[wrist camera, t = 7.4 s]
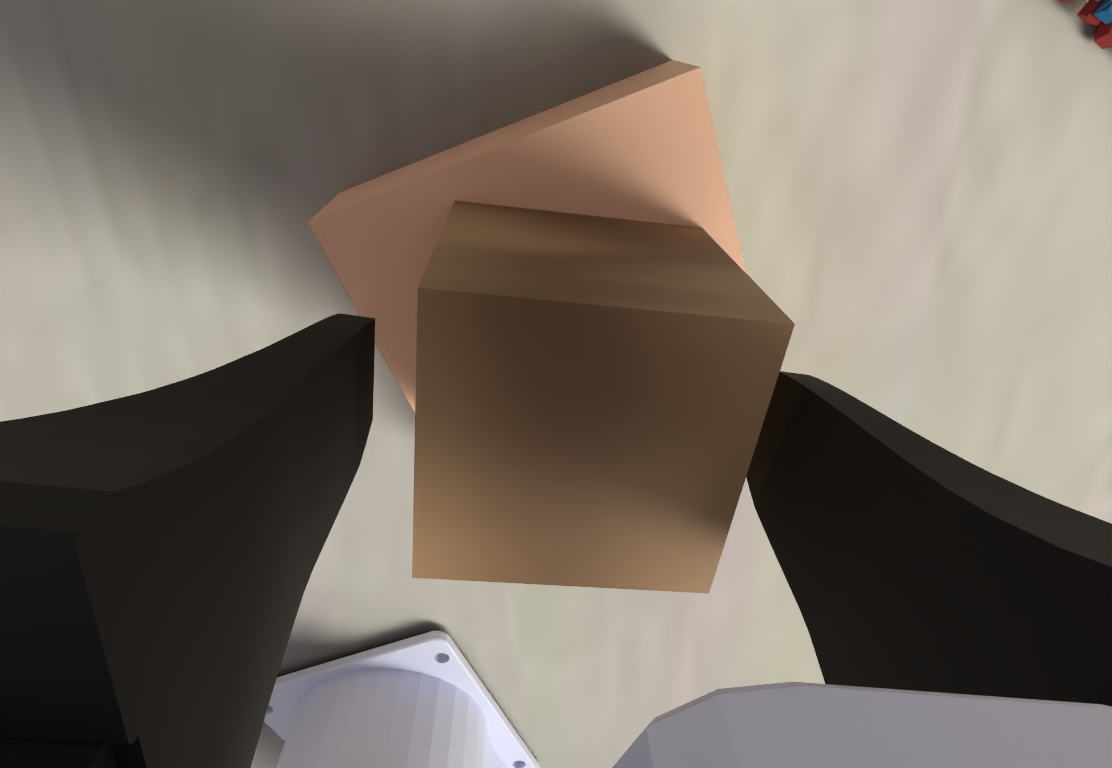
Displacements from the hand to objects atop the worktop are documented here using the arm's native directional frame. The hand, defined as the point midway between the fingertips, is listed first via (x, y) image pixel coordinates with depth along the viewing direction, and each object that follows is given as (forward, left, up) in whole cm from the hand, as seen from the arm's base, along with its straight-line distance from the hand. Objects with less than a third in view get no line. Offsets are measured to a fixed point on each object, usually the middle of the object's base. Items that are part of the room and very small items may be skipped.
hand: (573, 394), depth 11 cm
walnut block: (0, 0, -3) cm, 3 cm away
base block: (0, 0, -6) cm, 6 cm away
